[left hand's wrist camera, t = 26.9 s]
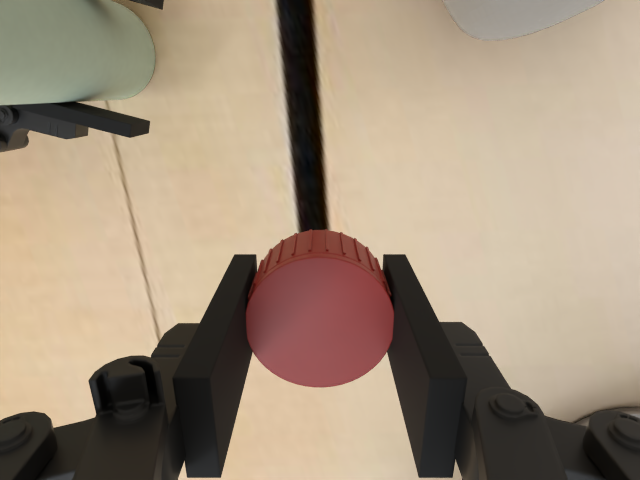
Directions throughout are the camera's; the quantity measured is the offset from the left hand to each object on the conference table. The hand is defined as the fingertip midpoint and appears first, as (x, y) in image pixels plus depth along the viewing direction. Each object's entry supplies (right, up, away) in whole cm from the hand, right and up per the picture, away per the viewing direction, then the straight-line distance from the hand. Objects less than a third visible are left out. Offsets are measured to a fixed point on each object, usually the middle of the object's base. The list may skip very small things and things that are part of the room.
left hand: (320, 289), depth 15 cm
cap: (0, -1, -2) cm, 2 cm away
